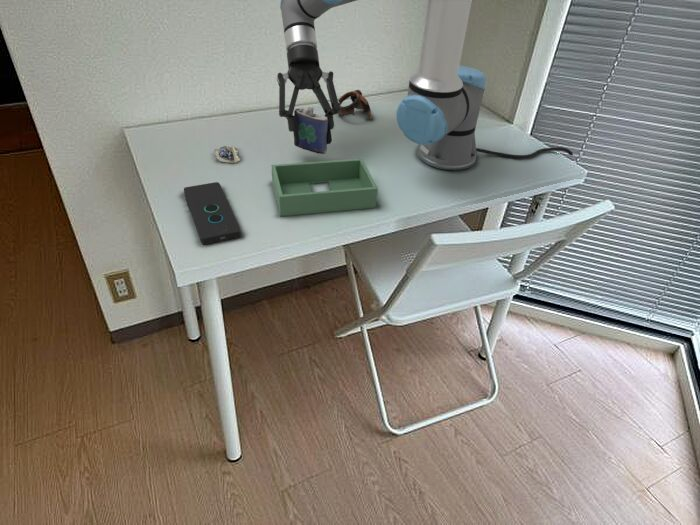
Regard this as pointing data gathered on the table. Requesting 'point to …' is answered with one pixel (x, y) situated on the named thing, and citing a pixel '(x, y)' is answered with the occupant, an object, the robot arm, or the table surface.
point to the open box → (346, 191)
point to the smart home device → (211, 213)
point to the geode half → (227, 154)
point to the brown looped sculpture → (354, 103)
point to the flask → (311, 130)
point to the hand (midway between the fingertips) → (313, 143)
